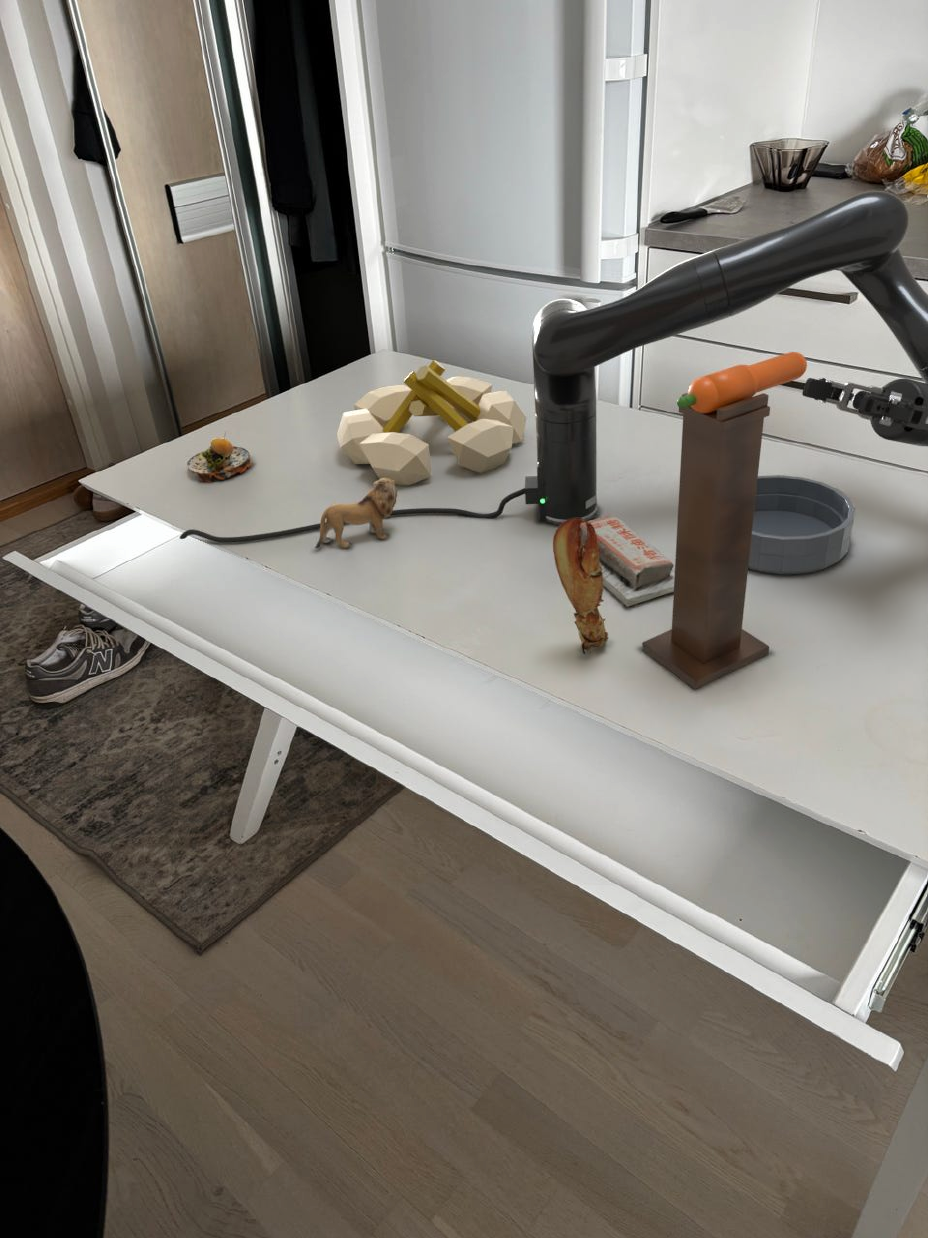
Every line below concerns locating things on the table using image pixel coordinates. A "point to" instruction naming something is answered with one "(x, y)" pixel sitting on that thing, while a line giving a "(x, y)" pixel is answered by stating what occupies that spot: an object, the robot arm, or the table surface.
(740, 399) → the carrot
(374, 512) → the lion figurine
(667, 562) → the packaged product
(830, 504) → the bowl
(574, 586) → the crab claw
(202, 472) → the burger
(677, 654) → the stand
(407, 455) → the campfire
